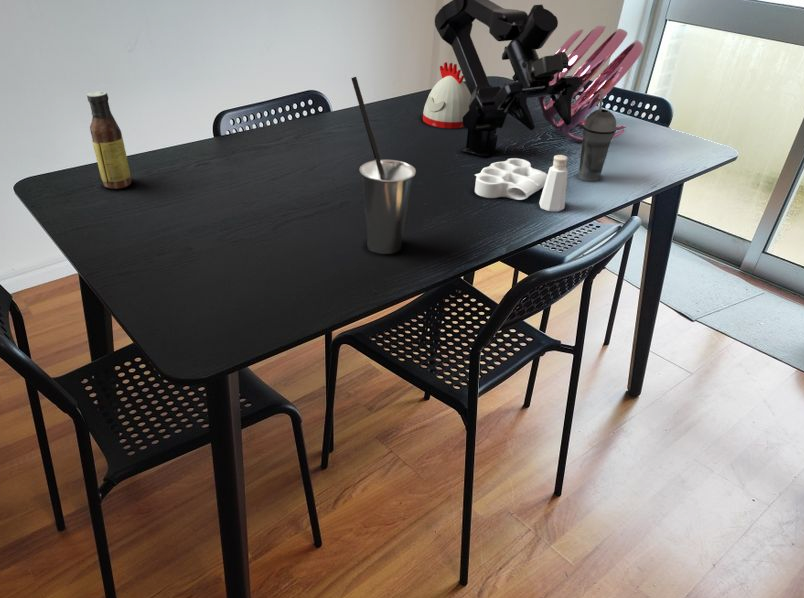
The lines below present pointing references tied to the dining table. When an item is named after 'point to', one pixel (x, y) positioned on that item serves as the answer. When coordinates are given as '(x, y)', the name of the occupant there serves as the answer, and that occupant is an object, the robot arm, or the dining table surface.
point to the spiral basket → (588, 70)
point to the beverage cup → (596, 142)
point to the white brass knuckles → (509, 180)
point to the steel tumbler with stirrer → (384, 194)
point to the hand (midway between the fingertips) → (551, 126)
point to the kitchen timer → (447, 100)
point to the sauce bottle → (108, 143)
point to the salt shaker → (555, 186)
